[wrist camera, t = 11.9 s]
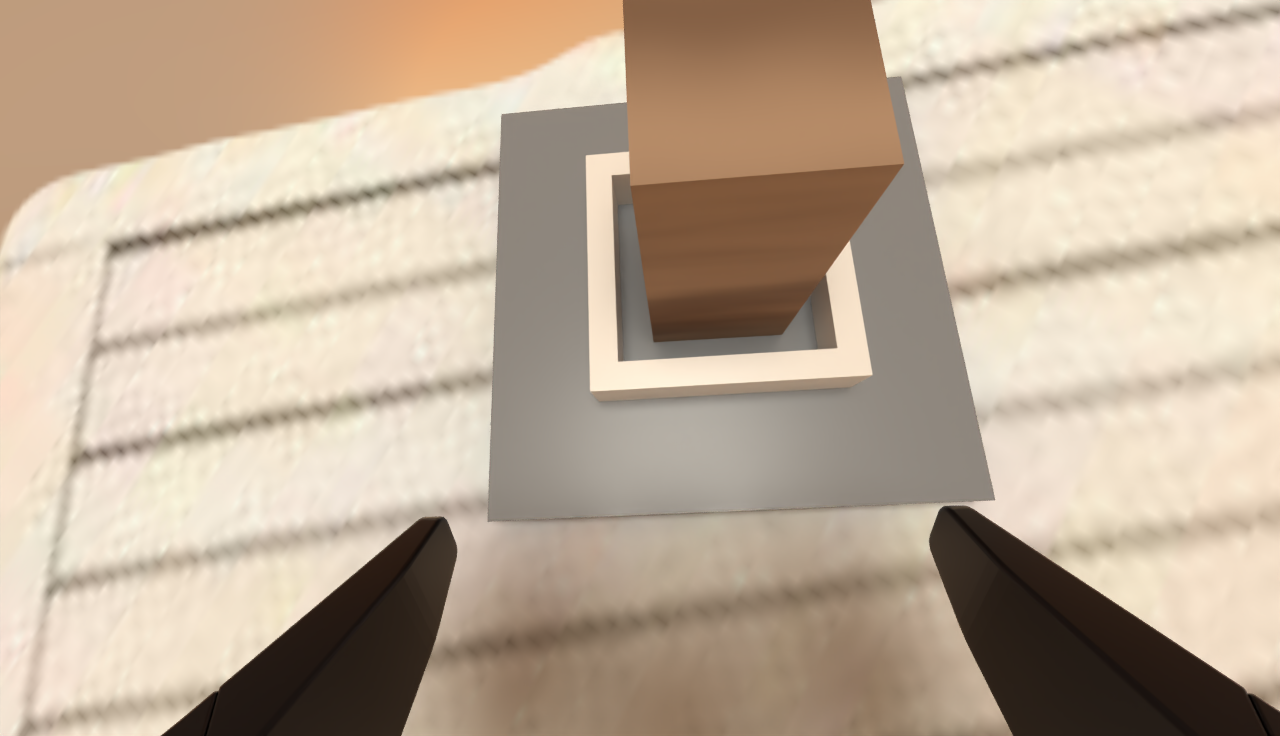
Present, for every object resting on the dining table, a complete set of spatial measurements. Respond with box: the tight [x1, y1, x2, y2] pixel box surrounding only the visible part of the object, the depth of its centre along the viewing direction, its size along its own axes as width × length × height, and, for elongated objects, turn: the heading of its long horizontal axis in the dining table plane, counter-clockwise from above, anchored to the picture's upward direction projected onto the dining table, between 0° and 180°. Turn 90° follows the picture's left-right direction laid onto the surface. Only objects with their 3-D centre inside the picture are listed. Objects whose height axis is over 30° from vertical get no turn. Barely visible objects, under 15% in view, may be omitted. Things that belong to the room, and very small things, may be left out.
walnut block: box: [623, 0, 904, 342], centre depth 14 cm, size 5×5×10 cm
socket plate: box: [488, 77, 995, 521], centre depth 19 cm, size 18×18×3 cm
